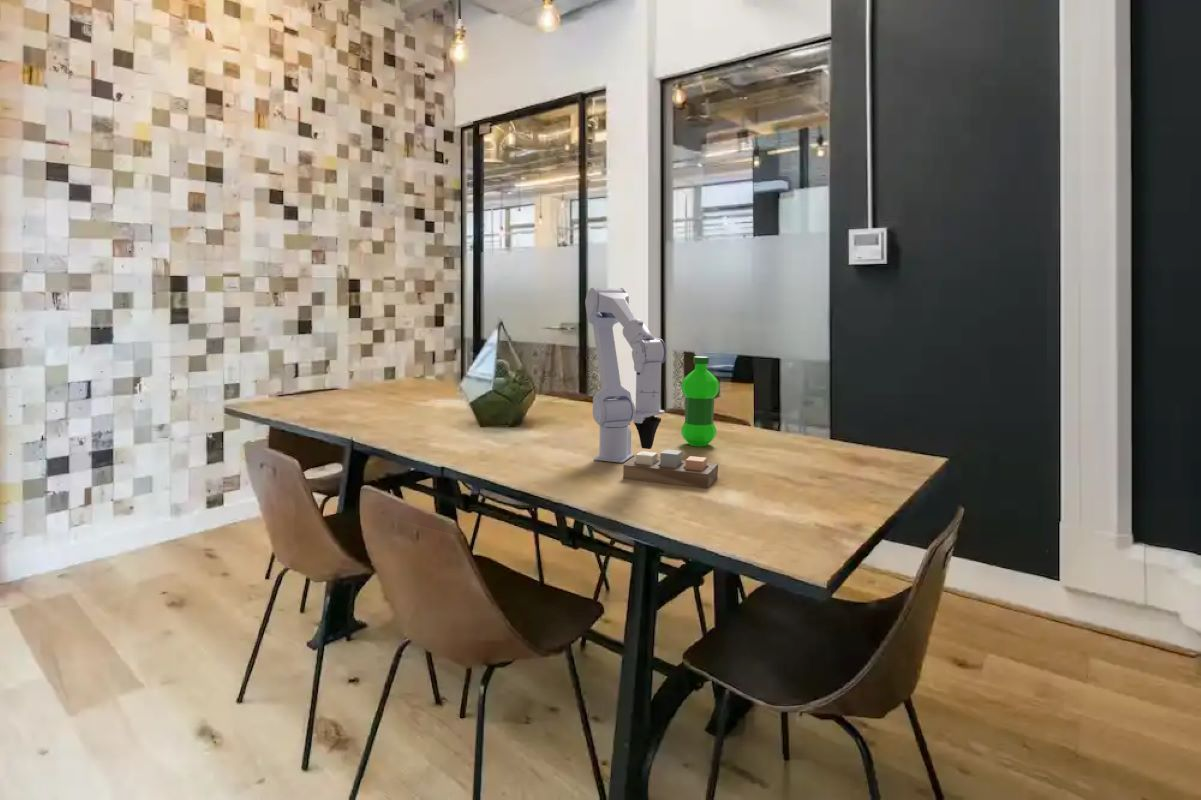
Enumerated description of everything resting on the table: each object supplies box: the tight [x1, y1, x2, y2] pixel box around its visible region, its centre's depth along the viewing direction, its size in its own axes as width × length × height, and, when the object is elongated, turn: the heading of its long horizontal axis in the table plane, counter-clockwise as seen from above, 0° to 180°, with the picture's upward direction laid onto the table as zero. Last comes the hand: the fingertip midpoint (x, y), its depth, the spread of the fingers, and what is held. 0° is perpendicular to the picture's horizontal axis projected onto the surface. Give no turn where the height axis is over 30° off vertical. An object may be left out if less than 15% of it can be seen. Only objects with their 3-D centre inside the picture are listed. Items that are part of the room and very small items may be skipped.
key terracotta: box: [685, 455, 708, 471], centre depth 164 cm, size 4×4×4 cm
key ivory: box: [635, 450, 658, 465], centre depth 168 cm, size 4×4×4 cm
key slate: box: [659, 449, 683, 468], centre depth 166 cm, size 4×4×4 cm
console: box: [622, 456, 719, 489], centre depth 167 cm, size 10×20×3 cm, turn 68°
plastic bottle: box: [680, 355, 720, 447], centre depth 201 cm, size 10×10×25 cm
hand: (646, 448), depth 168 cm, fingers closed
